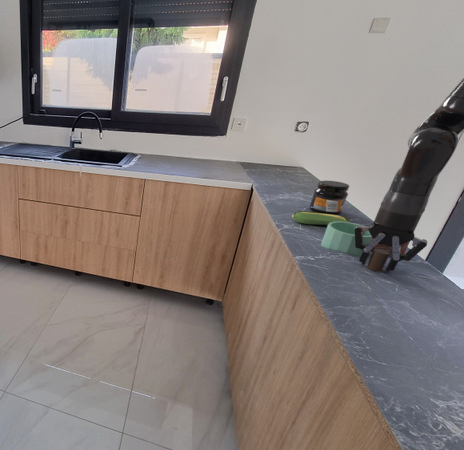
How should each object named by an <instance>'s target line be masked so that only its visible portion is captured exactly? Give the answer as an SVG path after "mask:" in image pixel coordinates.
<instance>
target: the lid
mask: <svg viewBox="0 0 464 450" xmlns="http://www.w3.org/2000/svg"><path fill="white" fill-rule="evenodd" d="M389 256H390V255H389V252H387V251H385V250H381V249H374V251H373V252H372V254H371V256H370V258H369V260H368V263H367V265H366V269H367V270H370V271H372V272H377V273H380V272H382V271H383V268H384V266H385V265H386V263H387V260H388V258H389Z"/></svg>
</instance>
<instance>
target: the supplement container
mask: <svg viewBox="0 0 464 450" xmlns="http://www.w3.org/2000/svg"><path fill="white" fill-rule="evenodd" d="M349 188H350V185H349V184H348V183H346V182H343V181H336V180H320V181H318V184H317V187H316V188H315V189H314V192H313V195H312V198H311V201H310V204H309V210H310V211H311V212H317V213H324V214H331V215H337V216H339V215H340V214H341V213H342V211H343V208H344V206H345V203H346V200H347V197H348V196H349V193H348V191H349Z"/></svg>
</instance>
